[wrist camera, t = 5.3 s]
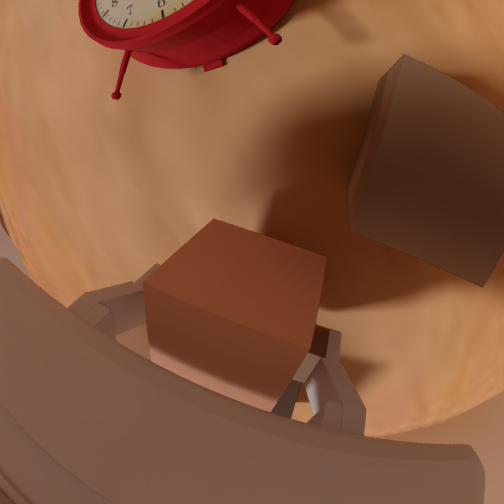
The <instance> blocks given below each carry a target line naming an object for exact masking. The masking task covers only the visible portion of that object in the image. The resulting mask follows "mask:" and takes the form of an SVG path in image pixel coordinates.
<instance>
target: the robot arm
mask: <svg viewBox="0 0 504 504" xmlns="http://www.w3.org/2000/svg"><path fill="white" fill-rule="evenodd" d="M160 266H161V265H160V264H155V265H154V266H152V267H151V268H150V269H149V270H148V271H147V272H146V273H145V274H143V275H142V276H141V277H140V278H139V279H138V280H137V281H136V282H135V283H134V282H128V283H123V284H119V285H115V286H111V287H107V288H103V289H99V290H94V291H90V292H86V293H84V294H83V295H82V296H81V297H80V298H78V299H77V300H76V301H75V302H74V303H73V304H71V305H70V306H69V307H68V308H66V307H65V306H64V305H62V304H61V303H60V302H58V301H57V300H56V299H54V298H53V297H52V296H51V295H49V294H48V293H47V292H46V291H44V290H43V289H42V288H41V287H39V286H38V285H37V284H36V283H35V282H33V281H32V280H31V279H30V278H29V277H28V276H26V275H25V274H24V273H23V272H22V271H21V270H20V269H19V268H17V267H16V266H15V265H14V264H13V263H12V262H11V261H10V260H9V259H8V258H5V257H2V258H0V504H483V503H484V492H485V470H484V467H483V465H482V463H481V461H480V459H479V457H478V456H477V454H476V452H475V451H474V449H473V448H472V447H471V446H470V445H467V444H430V443H415V442H405V441H396V440H388V439H381V438H374V437H368V436H364V429H365V419H366V408H365V406H364V404H363V402H362V400H361V398H360V396H359V394H358V393H357V391H356V389H355V387H354V385H353V383H352V381H351V380H350V378H349V376H348V374H347V372H346V370H345V368H344V367H343V365H342V364H341V363H339V355H340V345H341V335H342V334H341V332H339V331H336V330H333V329H329V328H326V327H323V326H320V325H317V324H315V329H314V334H313V339H312V343H311V348H310V350H309V352H308V354H307V355H306V357H305V359H304V361H303V362H302V364H301V366H300V367H299V369H298V370H297V372H296V374H295V375H294V377H293V380H296V381H299V382H302V383H304V386H305V389H306V392H307V396H308V399H309V402H310V405H311V408H312V411H313V414H314V416H313V417H312V418H311V419H310V420H309V421H308V422H307V423H304V422H301V421H297V420H294V419H290V418H287V417H284V416H280V415H277V414H274V413H271V412H268V411H265V410H262V409H259V408H256V407H253V406H251V405H248V404H245V403H242V402H240V401H237V400H234V399H232V398H229V397H227V396H224V395H222V394H219V393H217V392H215V391H212V390H210V389H208V388H205V387H203V386H201V385H198V384H196V383H194V382H192V381H190V380H188V379H185V378H183V377H181V376H179V375H177V374H175V373H173V372H171V371H169V370H167V369H165V368H163V367H161V366H159V365H157V364H156V363H154V362H152V361H150V360H148V359H146V358H144V357H143V356H141V355H139V354H137V353H136V352H134V351H132V350H130V349H129V348H127V347H125V346H123V345H122V344H120V343H119V342H117V341H116V337H115V336H117V335H119V334H122V333H124V332H126V331H129V330H131V329H133V328H136V327H138V326H141V325H143V324H145V323H146V315H145V304H144V291H143V282H144V281H145V280H146V279H147V278H148V277H149V276H150V275H151V274H152V273H153V272H154V271H155V270H157V269H158V268H159V267H160Z"/></svg>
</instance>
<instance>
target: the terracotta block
mask: <svg viewBox="0 0 504 504" xmlns="http://www.w3.org/2000/svg"><path fill="white" fill-rule="evenodd" d="M326 261H327V257H325V256H323V255H320V254H317V253H314V252H311V251H308V250H306V249H303V248H300V247H297V246H294V245H291V244H288V243H285V242H282V241H279V240H277V239H274V238H271V237H268V236H265V235H262V234H259V233H256V232H253V231H250V230H247V229H244V228H241V227H238V226H235V225H232V224H229V223H226V222H223V221H220V220H217V219H213V220H212V221H211V222H209V223H208V224H207V225H206V226H205V227H204V228H202V229H201V230H200V231H199V232H198V233H197V234H196V235H194V236H193V237H192V238H191V239H190V240H189V241H188V242H186V243H185V244H184V245H183V246H182V247H181V248H180V249H179V250H177V251H176V252H175V253H174V254H173V255H172V256H171V257H170V258H169V259H167V260H166V261H165V262H164V263H163V264H162V265H161V266H160V267H159V268H158V269H157V270H155V271H154V272H153V273H152V274H151V275H150V276H149V277H148V278H147V279H146V280H145V281H144V282H143V291H144V304H145V315H146V324H147V333H148V341H149V349H150V356H151V361H152V362H154V363H156V364H157V365H159V366H161V367H163V368H165V369H167V370H169V371H171V372H173V373H175V374H177V375H179V376H181V377H183V378H185V379H188V380H190V381H192V382H194V383H196V384H198V385H201V386H203V387H205V388H208V389H210V390H212V391H215V392H217V393H219V394H222V395H224V396H227V397H229V398H232V399H234V400H237V401H240V402H242V403H245V404H248V405H251V406H253V407H256V408H259V409H262V410H265V411H268V412H271V411H272V409H273V408H274V406H275V405H276V403H277V402H278V400H279V399H280V397H281V396H282V394H283V393H284V391H285V390H286V388H287V386H288V385H289V383H290V382H291V380H292V379H293V377H294V375H295V374H296V372H297V370H298V369H299V367H300V366H301V364H302V362H303V361H304V359H305V357H306V355H307V354H308V352H309V350H310V348H311V343H312V339H313V334H314V329H315V324H316V319H317V314H318V308H319V303H320V297H321V292H322V286H323V280H324V274H325V268H326Z"/></svg>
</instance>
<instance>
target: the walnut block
mask: <svg viewBox="0 0 504 504" xmlns="http://www.w3.org/2000/svg"><path fill="white" fill-rule="evenodd" d="M347 195H348V212H349V232H352V233H354V234H357V235H360V236H362V237H365V238H368V239H370V240H373V241H375V242H378V243H380V244H383V245H386V246H388V247H391V248H393V249H396V250H398V251H401V252H403V253H405V254H408V255H410V256H413V257H415V258H417V259H420V260H422V261H425V262H427V263H429V264H432V265H434V266H436V267H439V268H441V269H443V270H445V271H448V272H450V273H452V274H454V275H457V276H459V277H461V278H463V279H465V280H467V281H470V282H472V283H474V284H476V285H478V286H480V287H482V288H483V286H484V285H485V283H486V281H487V280H488V278H489V276H490V275H491V273H492V271H493V270H494V268H495V266H496V264H497V262H498V261H499V259H500V257H501V255H502V253H503V251H504V112H503V111H502V110H501V109H499V108H498V107H497V106H495V105H494V104H492V103H491V102H490V101H488V100H487V99H485V98H484V97H482V96H481V95H479V94H478V93H476V92H475V91H473V90H472V89H470V88H468V87H467V86H465V85H464V84H462V83H460V82H459V81H457V80H455V79H453V78H452V77H450V76H448V75H446V74H444V73H442V72H441V71H439V70H437V69H435V68H433V67H431V66H429V65H427V64H425V63H423V62H420V61H418V60H416V59H414V58H412V57H409V56H407V55H405V54H403V55H402V57H401V58H400V59H399V60H398V61H397V62H396V63H395V64H394V65H393V66H392V67H391V68H390V69H389V70H388V71H387V72H386V73H385V75H384V76H383V77H382V78H381V79H380V80H379V81H378V85H377V89H376V93H375V97H374V101H373V105H372V108H371V112H370V115H369V119H368V123H367V126H366V130H365V133H364V136H363V140H362V143H361V146H360V150H359V153H358V156H357V159H356V162H355V165H354V168H353V172H352V175H351V178H350V181H349V184H348V187H347Z"/></svg>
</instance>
